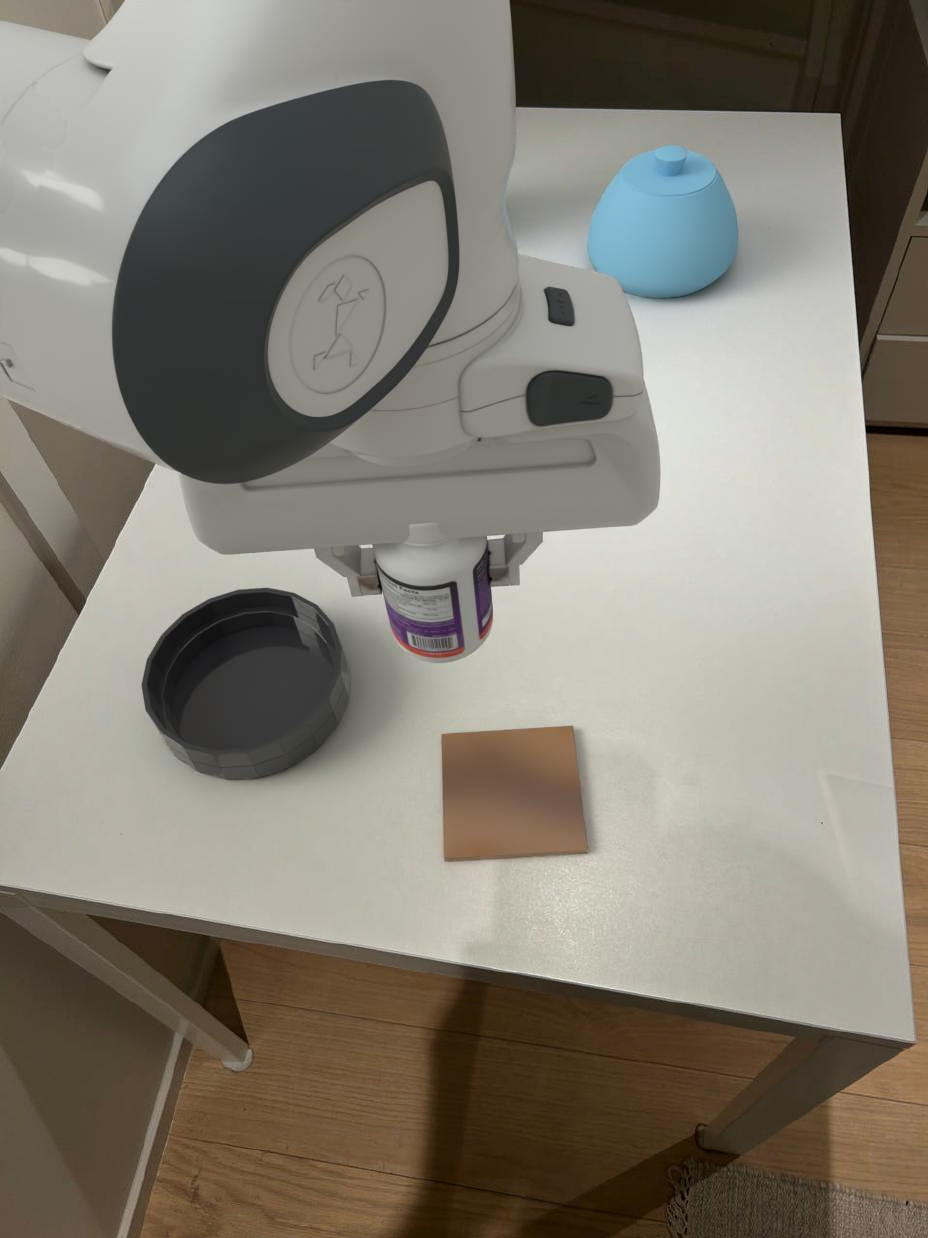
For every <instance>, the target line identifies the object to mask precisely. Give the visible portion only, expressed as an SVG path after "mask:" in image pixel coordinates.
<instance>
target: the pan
mask: <svg viewBox="0 0 928 1238" xmlns="http://www.w3.org/2000/svg"><path fill="white" fill-rule="evenodd" d="M144 667H145V668H144V671H143V676H142V680H141V691H142V692H141V693H142V698H143V703H144V709H145V713H146V714H147V715H148V717H149V719H150V720H151V721H152V723H153V724H154V727H155V728H156V730H158V732H159V734H160V736H161V737H162V738H163V740H164V741H165V743H166V744H167V746H168V747H169V749H170V751H171V752H172V753H173V754H174V756H175V757H176V758H177V759H178V760H180V761H181V762H182V763H184V764H185V765H187V766H188V767H190V768H192V769H193V770H195V771H196V772H198V773H200V774H204V775H209V776H213V777H215V778H220V779H224V780H244V779H259V778H262V777H265V776H268V775H271V774H273V773H274V774H275V773H277V772H279V771H282V770H286V769H289V768H291V767H293V766H294V765H296V764H297V763H299V762H301V761H302V760H303V759H305V758H306V757H308V756H309V755H310V754H312V753H314V752H315V751H317V750H318V749H319V748H320V747H321V745H323V744H324V742H325V741H326V740H327V738H328V737H329V736H330V735H331V734H332V733H333V732H334V731H335V729H336V728H337V726H338V725H339V723H340V721H341V719H342V716H343V713H344V711H345V709H346V706H347V704H348V702H349V697H350V678H351V674H350V673H351V672H350V670H349V666H348V663H347V659H346V656H345V652H344V649H343V646H342V643H341V640H340V637H339V634H338V632H337V629H336V625H335V624H334V622H333V621H332V620H331V619H330V617H329V616H328V615H327V614H326V613H325V611H323V610H322V608H321V607H320V606H319V605H318V604H316V603H314V602H313V601H311V600H309V599H307V598H305V597H303V596H302V595H299V594H298V593H295V592H293V591H287V590H282V589H276V588H271V587H256V588H243V589H242V588H240V589H236V590H232V591H229V592H226V593H222V594H219V595H216V596H213V597H210V598H208V599H206V600H204V601H203V602H201V603H199V604H198V605H196V606H194V607H192V608H190V609H189V610H187V611H185V612H184V613H182V614H181V615H180V616H179V617H178V618H177V619H176V620H175V621H174V622H172V624H171V625H169V627H168V628H167V629H165V631H164V632H162V633H161V635H160V636H159V638H158V640H157V641H156V643H155V645H154V646H153V648H152V649H151V652H150V653H149V655H148V657H147V658H146V661H145V666H144Z"/></svg>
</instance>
